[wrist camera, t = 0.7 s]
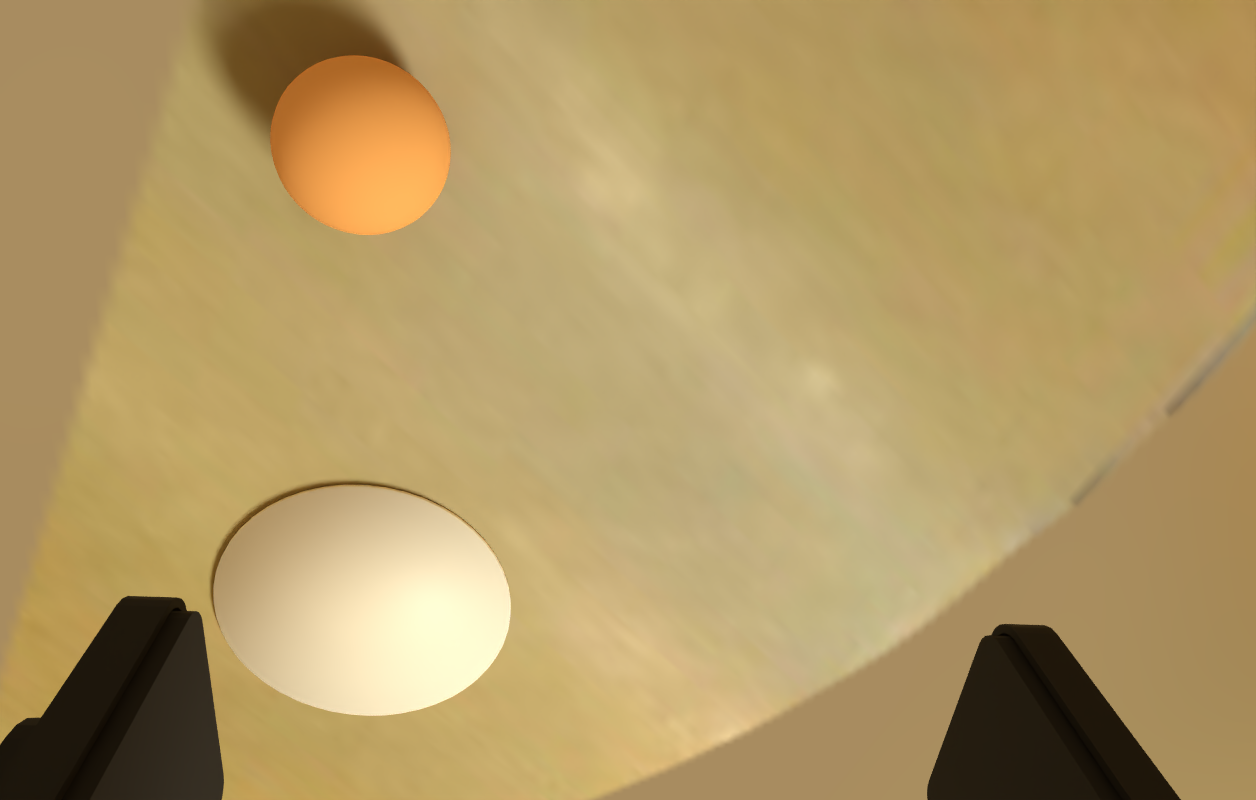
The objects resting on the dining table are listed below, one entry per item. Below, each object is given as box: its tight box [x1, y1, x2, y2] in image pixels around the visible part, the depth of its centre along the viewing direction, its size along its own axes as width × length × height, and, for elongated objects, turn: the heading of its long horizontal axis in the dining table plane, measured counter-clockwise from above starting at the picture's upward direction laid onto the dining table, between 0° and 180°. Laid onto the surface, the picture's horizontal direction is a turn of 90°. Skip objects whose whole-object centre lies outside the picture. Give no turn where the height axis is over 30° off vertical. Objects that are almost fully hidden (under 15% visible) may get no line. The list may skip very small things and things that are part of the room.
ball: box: [270, 55, 451, 235], centre depth 28 cm, size 6×6×6 cm
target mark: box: [213, 485, 511, 715], centre depth 40 cm, size 13×13×1 cm
